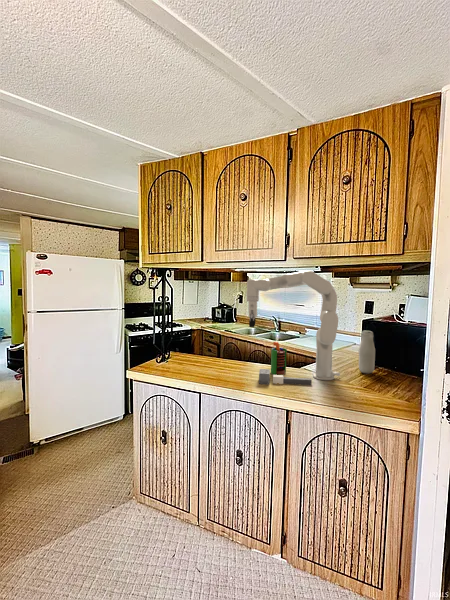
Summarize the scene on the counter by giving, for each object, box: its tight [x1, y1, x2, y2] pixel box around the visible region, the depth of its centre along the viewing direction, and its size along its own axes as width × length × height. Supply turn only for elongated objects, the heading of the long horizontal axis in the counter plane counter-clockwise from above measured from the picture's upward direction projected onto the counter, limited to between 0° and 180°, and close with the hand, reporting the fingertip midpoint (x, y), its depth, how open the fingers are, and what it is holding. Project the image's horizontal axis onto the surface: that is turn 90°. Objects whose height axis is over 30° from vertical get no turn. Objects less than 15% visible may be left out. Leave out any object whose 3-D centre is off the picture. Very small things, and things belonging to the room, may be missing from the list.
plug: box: [272, 374, 313, 386], centre depth 194 cm, size 22×4×4 cm, turn 82°
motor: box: [270, 341, 288, 375], centre depth 215 cm, size 10×9×20 cm
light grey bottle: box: [358, 330, 376, 375], centre depth 216 cm, size 10×10×28 cm
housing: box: [258, 368, 271, 386], centre depth 196 cm, size 6×10×6 cm, turn 172°
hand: (252, 325), depth 210 cm, fingers open, 9 cm apart
